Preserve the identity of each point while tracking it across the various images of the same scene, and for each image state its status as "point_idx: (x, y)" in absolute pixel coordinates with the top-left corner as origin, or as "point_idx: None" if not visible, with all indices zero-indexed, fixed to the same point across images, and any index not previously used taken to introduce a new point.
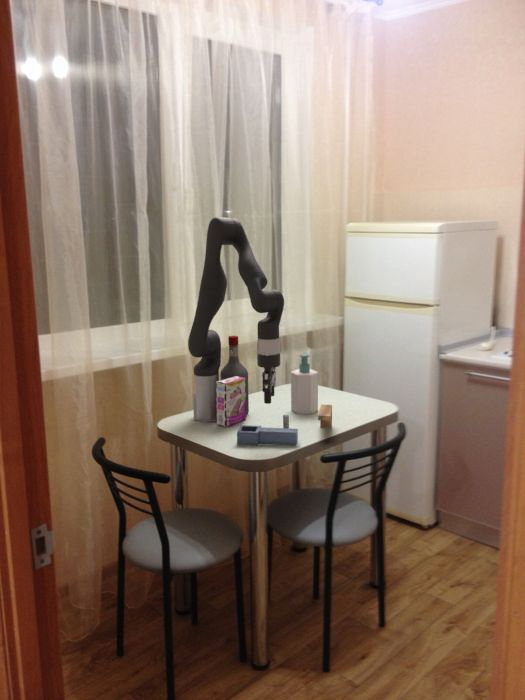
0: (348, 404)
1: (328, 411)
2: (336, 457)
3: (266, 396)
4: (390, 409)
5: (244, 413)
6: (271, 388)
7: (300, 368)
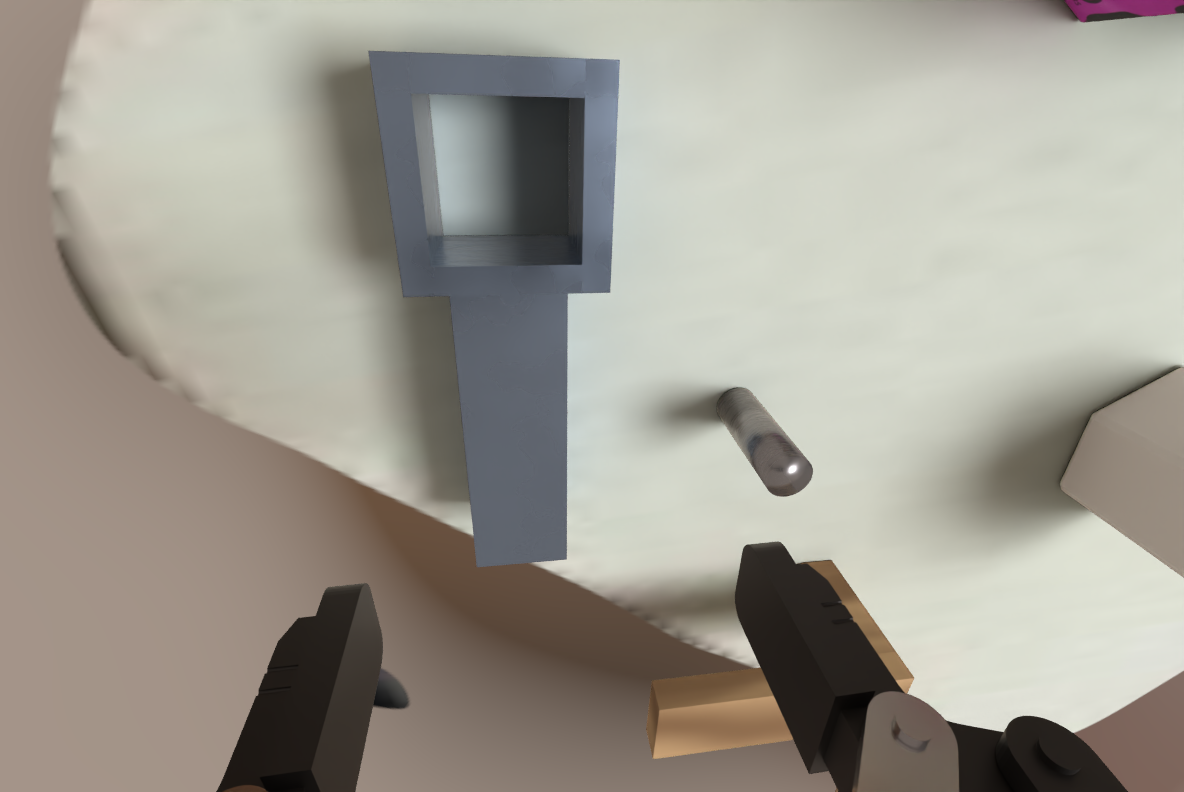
0: (1143, 615)
1: (753, 736)
2: None
3: (253, 739)
4: None
5: (1139, 4)
6: (794, 690)
7: None
